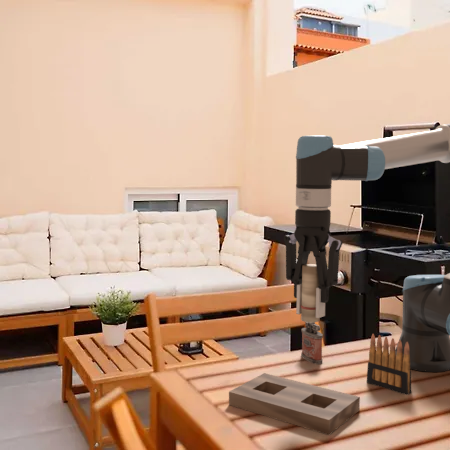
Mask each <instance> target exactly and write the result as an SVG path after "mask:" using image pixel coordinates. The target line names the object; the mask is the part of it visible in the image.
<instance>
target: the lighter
mask: <svg viewBox="0 0 450 450" xmlns="http://www.w3.org/2000/svg"><path fill="white" fill-rule="evenodd" d="M320 331H321V326H320V325H318V324H317V323H316V322H305V327H302V328H301V336H302V337H301V341H302V342H301V353H300V354H301V356H300V357H302V359H303V360H305V361H307V362H309V363H311V364H314V365H322V364H323V357H322V356H323V352H322V351H323V337H324V334H323V333H321V332H320Z"/></svg>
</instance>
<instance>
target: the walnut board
mask: <svg viewBox="0 0 450 450" xmlns="http://www.w3.org/2000/svg"><path fill="white" fill-rule="evenodd" d="M360 401H361V399H360V396H358V395H353V394H349V393H345V392H341V391H338V390H334V389H330V388H326V387H323V386H318V385H314V384H310V383H306V382H301V381H299V380H298V381H297V380H295V379H290V378H285V377H282V376H278V375H273V374H270V373H265V372H263V373H262V374H259V376H256V377H254V378H252V379H250V380H249V381H247V382H245V383H243V384H241V385H239V386H237V387H235V388H233V389H231V390H229V391H228V406H231V407H233V408H234V407H235V408H237V409H241V410H245V411H247V412H251V413H255V414H258V415H260V416H261V415H262V416H264V417H268V418H271V419H275V420H278V421H281V422H285V423H288V424H292V425H295V426H298V427H302V428H305V429H309V430H311V431H313V432H318V433H321V434H325V435H328V436H330V435H331V434H332V433H333V432H335V431H336V430H337V429H339V427H341V426H342V425H343V424H344V423H346V422H348V421H349V419H351V418H353V416H355V415H356V414H357V413H358V412H360V403H361V402H360Z"/></svg>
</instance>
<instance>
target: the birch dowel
mask: <svg viewBox="0 0 450 450" xmlns="http://www.w3.org/2000/svg"><path fill="white" fill-rule="evenodd" d="M318 286H320V285H319V279H318V273H317V266H316V263H315V264H314V263H313V264H312V263H309V264H308V263H307V264H305V265H302V303H301V314H300V315H301V316H300V320H301V322H315V323H318V322H320V318H316V288H318Z"/></svg>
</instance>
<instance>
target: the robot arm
mask: <svg viewBox="0 0 450 450" xmlns="http://www.w3.org/2000/svg"><path fill="white" fill-rule="evenodd" d="M295 159H296V160H295V162H296V166H295V167H296V168H295V169H296V173H295V174H296V176H295V177H296V181H295V182H296V184H295V206H296V207H297V208H296V210H295V214H294V215H295V217H294V219H295V220H294V222H295V223H294V224H295V227H296V228H295V230H294V232H293V233H292V234H287V235H284V236H283V241H284V245H285V278H286V280H287V281H290V282H292V283H293V298H295V299H296V311H295V312H296V315H301V303H302V265H305V264H308V260H309V257H310V254H311V252H312V254H313V257H314V258H315V259H314V260H315V265H316V266H317V273H318V279H319V285H320V286H318V288H316V318H322V317H326V303H328V302H329V299H330V298H329V297H330V295H329V294H330V287H332V286H336V285H338V283H339V267H340V266H339V265H340V250H341V248H342V245H343V244H344V243H343V240H342V239H337V238H334V237H332V234H331V231H330V227H331V213H332V212H331V209H329V208H330V207H332V182H333V181H365V182H368V181H376V180H378V179H380V178H381V177H382V176H383V174H384V172H385V170H388V169H389V170H390V169H394V168H399V167H407V166H413V165H418V164H426V163H431V162H435V161H439V162H441V163H444V164H449V163H450V123H447V124H446V123H445V124H441V125H438V126H436V127H435V129H433V130H427V131H422V132H421V131H420V132H414V133H409V134H407V133H406V134H401V135H396V136H390V137H384V138H377V139H376V138H375V139H371V140H363V141H358V142H357V141H356V142H353V143H345V144H340V145H339V144H338V145H337V144H334V140H333V138H332V136H331V135H302V136H299V138H298V140H297V145H296V153H295ZM297 243H298V247H297ZM327 245H328V248H329V250H328V258H327V247H326V246H327ZM297 248H298V249H297ZM327 259H328V261H327ZM401 328H402V330H401V334H400V336H399V338H398V342H399V340H401V343H402V355H403V357H404V348H405V344H406V342H408V344H409V354H410V370H414V371H419V372H427V373H429V372H430V373H431V372H432V373H439V372H440V373H441V372H447V371H450V272H449V273H447V274H416V275H409V276H407V277H405V278H404V280H403V287H402V324H401ZM398 342H397V343H396V346H395V354H396V355H397V346H398Z"/></svg>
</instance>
